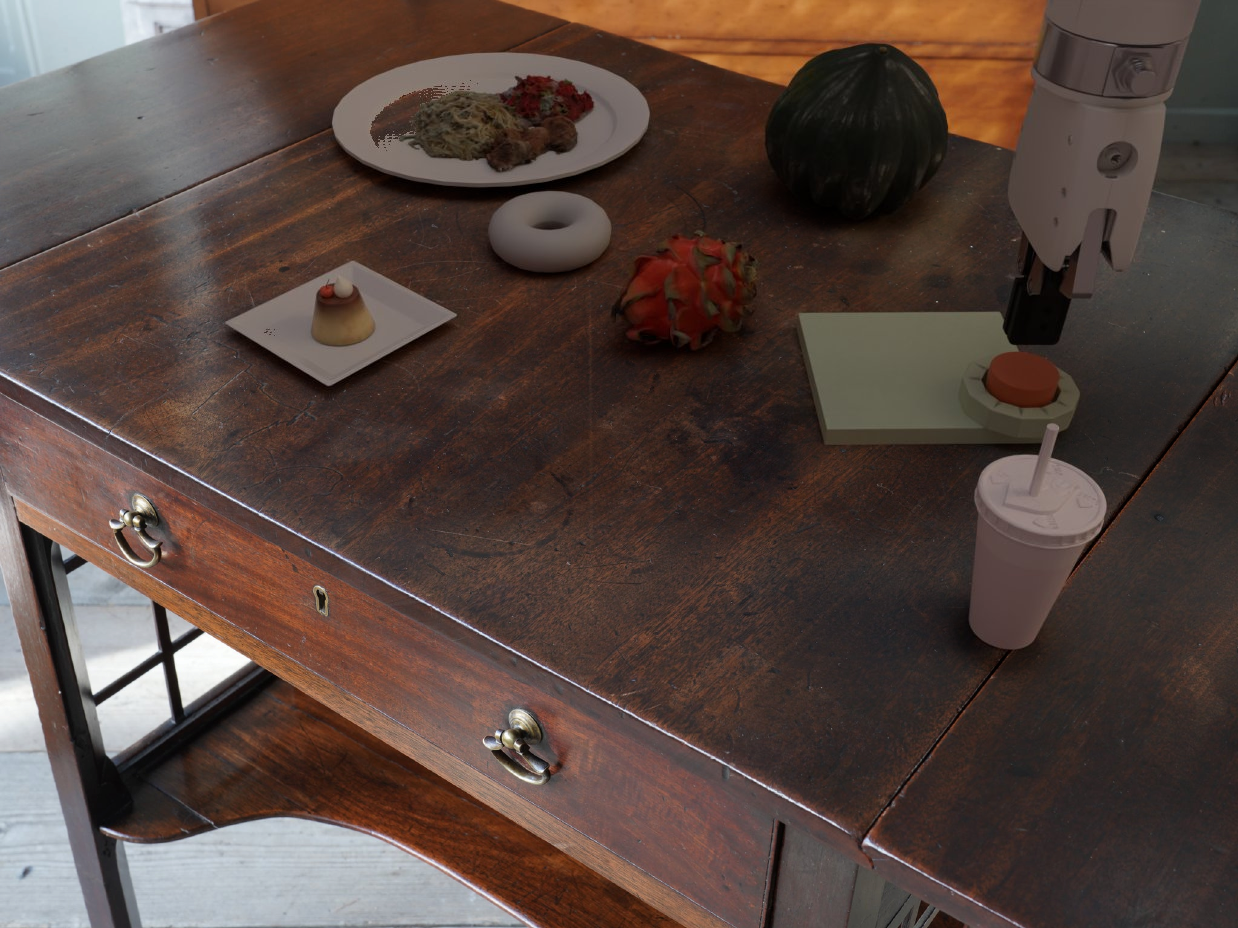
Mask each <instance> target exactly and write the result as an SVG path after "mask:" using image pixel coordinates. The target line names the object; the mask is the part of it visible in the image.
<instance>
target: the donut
mask: <svg viewBox="0 0 1238 928" xmlns="http://www.w3.org/2000/svg"><path fill="white" fill-rule="evenodd" d="M612 229H613V228H612V222H611V220H610V218H609V217H608V215H607V213H606V211H605V209H603V207H601V206H600V205H598V204H597V203H596V202H594V200H593V199H590V198H588V197H586V196H583V195H580V194H578V193H572V192H568V191H560V190H559V191H558V190H557V191H555V190H545V191H544V190H543V191H534V192H529V193H525V194H522V195H517V196H515V197H514V198H512V199H509V200H508V201H506V202H504V203H503V204H502V205H501V206H500V207H499V208H497V210H496V211H495V212H494V213H493V214H492V216H491V218H490V222H489V224H488V228H487V235H488V241H489V242H490V245H491V248H492V250H493V251H494V253H495V254H497V255H498V257H500V258H501V259H502V260H503V261H504V262H505V263H507V264H509V265H511V266H513V267H515V268H517V269H520V270H525V271H529V272H534V273H549V274H551V273H552V274H553V273H562V272H570V271H573V270H576V269H580V268H583V267H585V266H587V265H589V264H591V263H593V262H594V261H596V260H597V259H599V258H600V257H601V256H602V254H603V253H604V252H605V251H606V249H607V248H608V246H609V245H610V243H611V242H610V241H611V236H612Z"/></svg>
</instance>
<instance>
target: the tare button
mask: <svg viewBox="0 0 1238 928" xmlns="http://www.w3.org/2000/svg"><path fill="white" fill-rule="evenodd" d="M1055 366H1056V365H1055V364H1054V363H1052V362H1051V361H1050V360H1049V359H1046V358H1045V357H1043V356H1040V355H1037V354H1034V353H1031V352H1026V351H1019V352H1007V353H1003V354H1000V355H998V356H996V357H995V358H994V359H993V360H992V361H991V363H990V367H989V371H988V375H987V379H986V388H987V390H988V392H989V393H990V395H992V396H993V397H994V398H996V399H997V400H999V401H1000V402H1003V403H1006V404H1010V405H1013V406H1016V407H1020V408H1040V407H1043V406H1047V405H1049V404H1051V403H1052V402H1051V401H1052V400H1053V398H1054V395H1055V392H1056V388H1057V385H1058V381H1059V372H1058V370H1057V368H1058V367H1057V366H1056V367H1057V368H1056V367H1055Z"/></svg>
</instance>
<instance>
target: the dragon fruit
mask: <svg viewBox="0 0 1238 928" xmlns="http://www.w3.org/2000/svg"><path fill="white" fill-rule="evenodd" d="M693 235H694V236H696V237H695V238H694V239H689V238H686V237H684V236H683V235H682V234H680V233H676V234H673V235H672V236H671V237H666V238H665V239H663V240H662V241H661V242H660V243H658V244H657V247H656V248H655V250H652V251H648V252H645V253H642V254H640V255H638V256H636V257H634V258H633V260H632V262H631V264H630V267H629V272H628V276H627V279H626V282H625V283H624V284H623V287H622V288H621V290H620V292H619V296H618V298H617V300H616V301H615V302H614V304H613V305H612V307H611V313H610V320H611V323H612V324H615V323H616V322H617V319H616V318H617V316H619V317H620V319H621V321H625V322H627V323H629V325H633V326H634V327H631V328H629V329H627V330H626V331H625V335H626V337H627V339H628V340H631V341H634V342H638V343H643V344H644V345H646V346H647V345H653V346H654V345H655V346H656V344H659V343H661V342H663V340H668V342H669V344H670V345H673V346H674V347H675V348H677V349H678V348H681V347H683V346H684V345H686V344H689V348H690V350H691V351H697V350H699V349H702V348H705V347H706V346H707V345H708V344H711V342H713V337H715V336H718V335H719V333H721V332H722V331H724V332H726V333H734V332H738V331H740V330H741V328H742V324H743V322H742V321H743V320H746V319H750V318H752V316H754V314H755V312H756V310H755V309H753V310H752V311H751V310H748V309H747V308H746V306H748V305H750V304H751V303H752V301H753V300H754V299H755V298H757V295H758V291H757V284H756V283H755V282H756V281H757V280H758V278H759V277H758V275H757V273H758V263H759V260H758V259H756V258H755V257H753V256H752V255H751V254H750V253H749V252H746V251H745V252H743V251H742V249H743V244H742V243H739V242H737V241H729V242H726V240H724V239H723V238H721V237H719V238H717V239H716V240H714V239H712V238H711V237H710V234H709V233H707V232H704V231H702V230H701V229H697V230H695V231H694V232H693ZM731 318H732V319H735V320H738V324H734V322H733V321H732V320H731ZM704 334H705V335H704ZM702 335H704V338H703V340H702Z"/></svg>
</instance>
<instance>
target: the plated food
mask: <svg viewBox="0 0 1238 928" xmlns="http://www.w3.org/2000/svg"><path fill="white" fill-rule="evenodd" d="M470 80H471V81H470ZM462 83H464V84H462ZM477 83H478V84H477ZM441 85H442V87H434V86H441ZM445 86H447V87H445ZM452 86H456V87H452ZM460 86H465V87H460ZM468 86H470V87H468ZM427 88H432V89H433V88H438V89H445V90H433V91H442V92H446V93H436V94H442V95H445V96H442V97H441V96H433V97H438V98H439V99H432V100H431V101H430V102H426V103H427V104H425V103H422V104H420V109H421V110H420V111H418V112H417V113H416V114H415V115H414V116H411V117H415V119H416V118H417V119H418V120H417V119H416V120H417V121H416V120H412V124H411V126H412V125H413V124H417V127H416V128H415V131H414V134H409V133H410V132H413V131H410V132H407V133H406V134H404V135H402V136H399V137H398V136H393V135H395V134H392V136H387V135H389V134H387V135H386V136H385V139H384V140H385V142H383V141H384V140H380V139H378V140H380V142H378V144H379V146H378V147H379V148H378V147H377V146H376V145H375V142H374V141H373V139H372V136H371V134H370V130H371V127H372V125H371V124H372V121H374V120H375V117H377V116H376V115H378V114H380V112H381V111H383V109H384V107H386V106H389V104H390V103H391V104H392V103H394V101H395V100H399V98H400V97H402V96H403V95H407V94H409V93H411V94H412V92H414V91H416V92H417V91H419V90H420V91H422V90H423V89H427ZM447 88H448V89H447ZM451 89H454V90H451ZM459 89H464V90H459ZM467 89H470V90H467ZM426 91H428V90H426ZM447 91H448V92H447ZM424 92H425V91H424ZM431 92H432V91H431ZM451 92H452V93H451ZM449 93H450V94H449ZM419 94H421V93H419ZM426 94H428V93H426ZM434 94H435V93H434ZM446 94H448V95H446ZM424 95H425V94H424ZM431 95H432V94H431ZM420 97H421V96H420ZM426 97H427V96H426ZM431 98H432V97H431ZM332 115H333V116H332V121H331V126H332V127H331V128H332V131H333V134H334V137H335V141H336V142H337V143H338V144H339V146H340V147H341V148H342V149H343V150H344V151H345V153H347V154H348V155H350V156H351V157H352V158H354V159H355V160H357V161H359V162H360V163H361V164H363V165H365V166H367V167H370V168H372V169H374V170H377V171H379V172H381V173H384V174H387V175H390V176H395V177H397V178H401V179H404V180H405V179H406V180H409V181H412V182H419V183H427V184H433V185H439V186H440V185H441V186H449V187H451V186H452V187H465V188H493V187H495V188H497V187H514V186H515V187H516V186H523V185H524V186H525V185H530V184H531V185H533V184H538V183H539V184H540V183H546V182H550V181H551V182H552V181H555V180H560V179H563V178H568V177H572V176H576V175H580V174H583V173H585V172H587V171H590V170H593V169H597V168H599V167H602V166H604V165H606V164H608V163H610V162H612V161H614V160H616V159H618V158H619V157H621V156H623V155H625V154H626V153H627V152H628V151H630V150H631V149H632V148H633V147H635V146H636V145H637V144H638V143H639V142H640V141H641V139H642V138H643V136H644V135H645V133H646V132H647V130H648V126H649V123H650V116H651V112H650V107H649V105H648V101H647V99H646V98H645V97H644V95H643V94H642V93H641V91H640V90H639V89H638V87H636V86H634V85H633V84H632V83H630V82H629V81H628V80H626V79H625V78H624V77H622V76H620V75H618V74H615V73H613V72H611V71H609V70H607V69H605V68H602V67H598V66H595V65H593V64H590V63H587V62H583V61H578V60H575V59H570V58H565V57H560V56H554V55H545V54H537V53H527V52H525V53H524V52H476V53H475V52H474V53H465V54H454V55H446V56H440V57H436V58H435V57H434V58H430V59H425V60H420V61H415V62H412V63H409V64H405V65H401V66H397V67H395V68H393V69H390V70H386V71H384V72H382V73H380V74H377V75H374V76H373V77H371V78H369V79H367V80H366V81H363V82H361V83H360V84H358V85H356V86H355V87H354V88H352V89H351V90H350V91H349V92H348V93H346V94H345V95H344V96H343V97H342V98H341V99H340V101H339V102H338V104H337V106H336V107H335V108H334V110H333V114H332ZM419 129H420V130H419ZM393 132H394V131H393ZM418 132H419V133H418ZM415 133H417V134H415ZM399 135H401V134H399ZM379 137H380V136H379ZM389 137H392V139H387V138H389ZM395 137H398V139H393V138H395ZM399 138H400V139H399ZM390 140H391V142H388V141H390ZM383 144H385V145H383ZM389 144H390V145H389ZM384 147H386V148H384ZM386 150H387V151H386Z"/></svg>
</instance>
